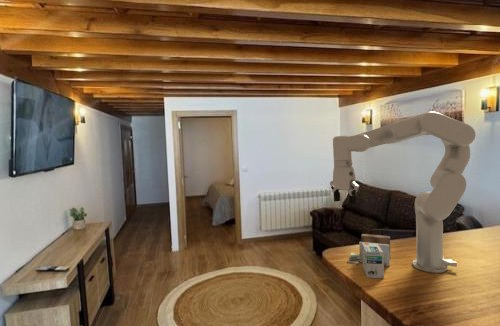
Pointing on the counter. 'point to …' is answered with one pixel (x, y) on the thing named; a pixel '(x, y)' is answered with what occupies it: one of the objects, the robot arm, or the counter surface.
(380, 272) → the light bulb box
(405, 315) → the counter surface
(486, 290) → the counter surface
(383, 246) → the plate
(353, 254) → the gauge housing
